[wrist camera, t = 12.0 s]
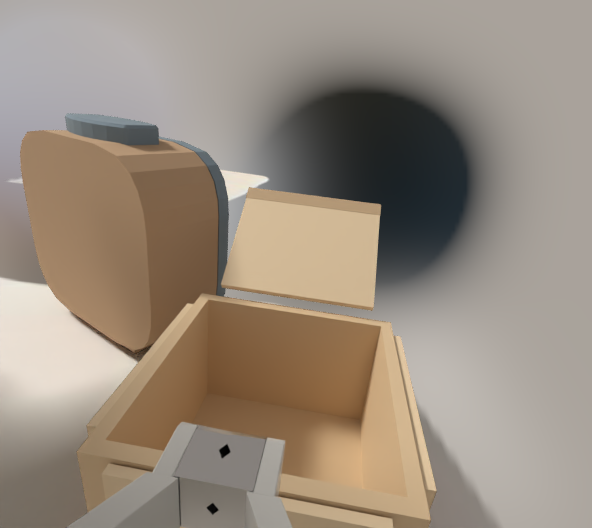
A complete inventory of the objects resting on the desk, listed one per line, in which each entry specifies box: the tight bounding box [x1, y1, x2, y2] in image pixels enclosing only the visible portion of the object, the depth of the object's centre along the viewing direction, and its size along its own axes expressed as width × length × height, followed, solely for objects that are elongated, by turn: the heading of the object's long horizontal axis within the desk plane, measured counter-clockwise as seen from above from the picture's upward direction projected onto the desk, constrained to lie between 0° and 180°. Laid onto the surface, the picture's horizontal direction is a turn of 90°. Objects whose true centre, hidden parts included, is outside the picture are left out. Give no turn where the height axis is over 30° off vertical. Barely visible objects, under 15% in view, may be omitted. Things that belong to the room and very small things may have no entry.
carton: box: [77, 293, 437, 528], centre depth 24 cm, size 16×16×10 cm
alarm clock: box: [20, 114, 229, 353], centre depth 39 cm, size 21×10×22 cm, turn 56°
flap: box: [221, 187, 381, 311], centre depth 31 cm, size 1×12×10 cm
